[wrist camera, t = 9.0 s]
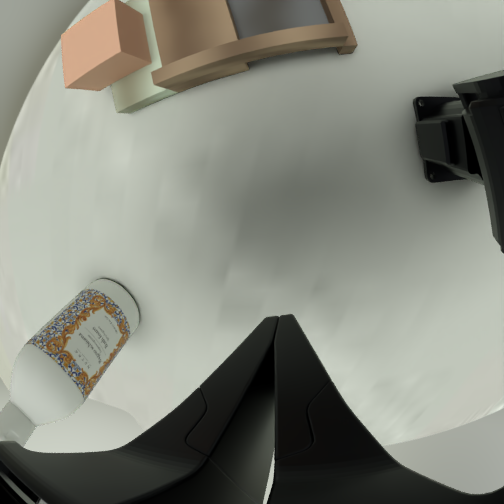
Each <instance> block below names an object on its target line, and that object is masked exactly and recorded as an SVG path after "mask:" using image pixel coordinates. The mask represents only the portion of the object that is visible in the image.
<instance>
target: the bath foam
mask: <svg viewBox="0 0 504 504" xmlns="http://www.w3.org/2000/svg"><path fill="white" fill-rule="evenodd" d="M138 324H139V312H138V308H137V306H136V304H135V302H134V300H133V298H132V297H131V296H130V294H129V293H128V292H127V291H126V290H125V289H124V288H123V287H121V286H120V285H119V284H117V283H115V282H113V281H111V280H107V279H99V280H96V281H94V282H92V283H91V284H90V285H89V286H88V287H86V288H85V289H84V290H83V291H81V292H80V293H79V294H78V295H77V296H76V297H75V298H74V299H72V300H71V301H70V302H69V303H68V304H67V305H66V306H65V307H64V308H62V309H61V310H60V311H59V312H58V313H57V314H56V315H55V316H54V317H53V318H52V319H51V320H50V321H49V322H47V323H46V324H45V325H44V326H43V327H42V328H41V329H40V330H39V331H38V332H37V333H36V334H35V335H34V336H33V337H32V338H31V339H30V340H29V341H28V342H27V343H26V344H25V345H24V347H23V348H22V350H21V351H20V352H19V354H18V356H17V358H16V360H15V363H14V366H13V370H12V376H11V386H10V400H9V402H8V403H7V404H6V405H5V407H4V408H3V409H2V411H1V412H0V441H16V442H17V443H19V444H20V445H21V446H22V447H23V446H24V445H25V444H26V442H27V440H28V439H29V437H30V436H31V434H32V433H33V431H34V430H35V427H37V426H41V425H45V424H49V423H53V422H57V421H60V420H62V419H65V418H67V417H69V416H70V415H71V414H73V413H74V412H75V411H76V410H77V409H78V408H79V407H80V406H81V405H82V404H83V403H84V401H85V400H86V399H87V397H88V396H89V394H90V393H91V391H92V390H93V388H94V387H95V385H96V384H97V383H98V381H99V380H100V378H101V377H102V375H103V374H104V373H105V371H106V370H107V368H108V367H109V365H110V364H111V363H112V361H113V360H114V358H115V357H116V356H117V354H118V353H119V352H120V350H121V349H122V347H123V346H124V345H125V343H126V342H127V341H128V339H129V338H130V336H131V335H132V334H133V332H134V331H135V330H136V328H137V326H138Z"/></svg>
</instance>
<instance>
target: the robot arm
mask: <svg viewBox="0 0 504 504" xmlns="http://www.w3.org/2000/svg"><path fill="white" fill-rule="evenodd" d="M453 88H454V90H455V92H456V93H458V95H459V98H456V97H417V98H415V99H414V101H413V104H414V108H415V113H416V118H417V123H416V129H417V134H418V140H419V147H420V154H421V157H422V158H423V161H424V170H425V177H426V179H427V181H429V182H432V183H435V182H444V181H453V180H462V179H469V180H471V181H474V182H477V183H480V184H482V185H484V186H485V191H486V196H487V201H488V206H489V212H490V218H491V225H492V233H493V236H494V238H495V239H496V241H497V242H498V244H499V245H500V246H501V251H502V252H503V253H504V70H503V71H498V72H494V73H490V74H486V75H483V76H479V77H476V78H472V79H469V80H466V81H462V82H459V83H456V84H453ZM418 101H421V103H422V106H420V105H419V104H418ZM431 173H433V177H432V178H430V174H431ZM274 447H275V452H274ZM273 452H274V456H275V457H274V460H275V464H274V465H275V466H274V479H273V484H272V488H271V492H270V494H269V498H268V501H267V504H504V486H503V487H501V488H500V489H498V490H495V491H493V492H490V493H485V494H469V493H465V492H461V491H459V490H456V489H454V488H451V487H448V486H446V485H444V484H441V483H439V482H437V481H434V480H432V479H430V478H428V477H425V476H423V475H421V474H419V473H417V472H415V471H413V470H411V469H409V468H407V467H405V466H403V465H401V464H400V463H399V462H398V461H396V460H395V459H394V458H393V457H392V456H391V455H390V454H389V453H388V452H387V451H386V450H385V449H384V448H383V447H382V446H381V444H380V443H379V442H378V441H377V440H376V439H375V438H374V436H373V435H372V434H371V433H370V432H369V431H368V430H367V428H366V427H365V426H364V425H363V424H362V423H361V421H360V420H359V419H358V418H357V417H356V415H355V414H354V413H353V412H352V410H351V409H350V408H349V406H348V405H347V404H346V402H345V401H344V399H343V398H342V396H341V395H340V393H339V391H338V390H337V388H336V386H335V385H334V383H333V382H332V380H331V378H330V376H329V375H328V373H327V371H326V370H325V368H324V366H323V364H322V363H321V361H320V359H319V358H318V356H317V354H316V352H315V351H314V349H313V347H312V346H311V344H310V342H309V340H308V339H307V337H306V335H305V334H304V332H303V330H302V328H301V327H300V325H299V323H298V322H297V320H296V318H295V317H294V315H293V314H288V315H281V316H280V317H279V316H272V317H266V318H265V319H264V320H263V321H262V322H261V323H260V324H259V325H258V326H257V327H256V328H255V329H254V330H253V332H252V333H251V334H250V335H249V336H248V337H247V338H246V339H245V340H244V341H243V342H242V343H241V344H240V345H239V346H238V347H237V349H236V350H235V351H234V352H233V353H232V354H231V355H230V356H229V357H228V358H227V359H226V360H225V361H224V362H223V363H222V364H221V365H220V366H219V367H218V368H217V369H216V370H215V371H214V372H213V373H212V374H211V375H210V376H209V377H208V378H207V379H206V380H205V381H204V382H203V383H202V384H201V385H200V388H197V389H196V390H195V391H194V392H193V393H192V394H191V395H190V396H189V397H188V398H186V399H185V400H184V401H183V402H182V403H181V404H180V405H179V406H178V407H176V408H175V409H174V410H173V411H172V412H170V413H169V414H168V415H167V416H165V417H164V418H163V419H161V420H160V421H159V422H157V423H156V424H155V425H153V426H152V427H151V428H149V429H148V430H146V431H145V432H144V433H142V434H141V435H139V436H138V437H137V438H135V439H134V440H132V441H131V442H129V443H128V444H126V445H124V446H122V447H120V448H117V449H114V450H109V451H101V452H85V453H41V452H34V451H30V450H27V449H25V448H23V447H22V446H21V445H20V444H19V443H17V442H16V441H0V504H263V500H264V495H265V491H266V486H267V482H268V477H269V472H270V467H271V462H272V457H273Z"/></svg>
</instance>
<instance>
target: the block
mask: <svg viewBox="0 0 504 504" xmlns="http://www.w3.org/2000/svg"><path fill="white" fill-rule="evenodd" d="M61 45H62V62H63V73H64V82H65V88H71V89H84V90H94V91H101V90H102V89H104V88H106V87H107V86H109V85H111V84H112V83H114V82H116V81H118V80H120V79H121V78H123V77H125V76H127V75H129V74H131V73H133V72H135V71H137V70H139V69H141V68H143V67H145V66H147V65H149V64H151V63H152V61H151V56H150V51H149V46H148V41H147V36H146V30H145V25H144V19H143V14H141V13H140V12H138V11H136V10H135V9H133V8H131V7H130V6H128V5H126V4H124V3H123V2H121V1H119V0H110V1H108V2H106V3H105V4H103V5H102V6H100V7H99V8H97V9H96V10H94V11H93V12H91V13H90V14H88V15H87V16H86V17H84V18H83V19H81V20H80V21H79V22H77V23H76V24H75V25H73V26H72V27H71V28H70V29H68V30H67V31H66V32H65V33H63V34H62V35H61Z"/></svg>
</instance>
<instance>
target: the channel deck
mask: <svg viewBox="0 0 504 504" xmlns="http://www.w3.org/2000/svg"><path fill="white" fill-rule="evenodd" d="M124 4H126V5H128V6H130V7H131V8H133V9H135V10H136V11H138V12H140V13H141V14H143V19H144V25H145V30H146V36H147V41H148V46H149V51H150V56H151V61H152V63H151V64H149V65H147V66H145V67H143V68H141V69H139V70H137V71H135V72H133V73H131V74H129V75H127V76H125V77H123V78H121V79H120V80H118V81H116V82H114V83H112V84H111V88H112V93H113V98H114V103H115V108H116V112H117V113H129V114H131V113H133V112H135V111H137V110H139V109H141V108H143V107H146V106H148V105H150V104H152V103H155V102H157V101H159V100H162V99H164V98H166V97H169V96H171V95H174V94H176V93H179V92H182V91H184V90H187V89H190V88H192V87H195V86H198V85H201V84H204V83H207V82H210V81H213V80H216V79H219V78H223V77H226V76H229V75H233V74H237V73H240V72H244V71H248V70H249V67H248V63H247V62H251V61H255V60H259V59H263V58H268V57H272V56H277V55H282V54H287V53H293V52H299V51H305V50H312V49H320V48H328V47H337V50H338V53H339V54H350V53H353V51H354V50H355V48H356V47H357V42H356V39H355V36H354V34H353V31H352V28H351V26H350V23H349V21H348V18H347V16H346V13H345V11H344V9H343V6H342V4H341V2H340V0H129V1H127V2H126V3H124Z"/></svg>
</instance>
